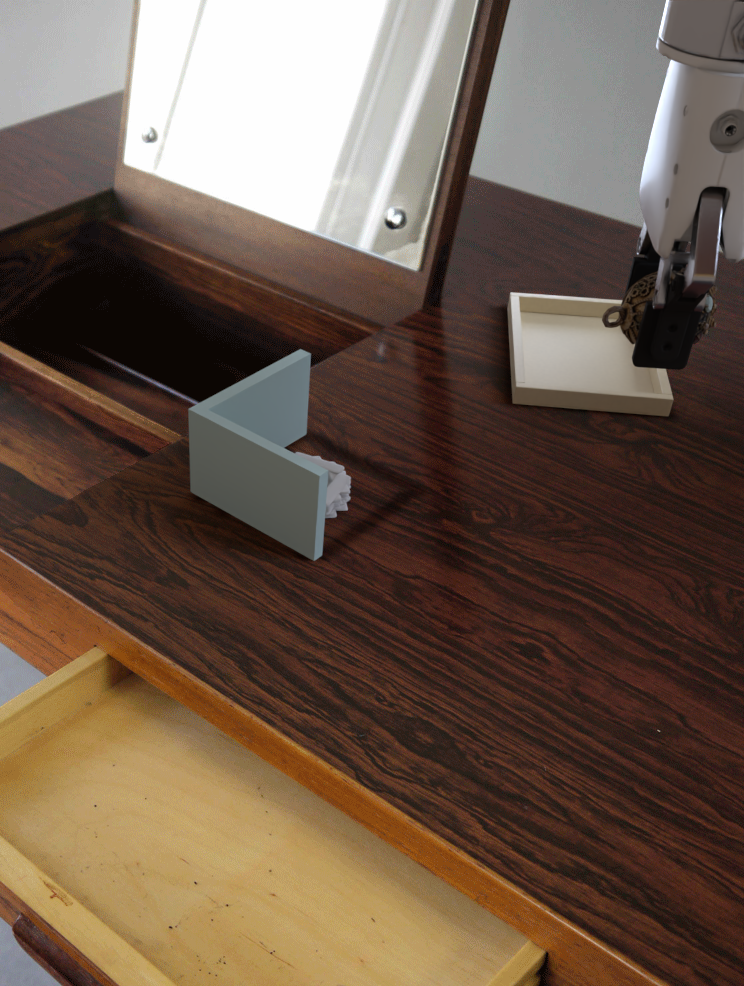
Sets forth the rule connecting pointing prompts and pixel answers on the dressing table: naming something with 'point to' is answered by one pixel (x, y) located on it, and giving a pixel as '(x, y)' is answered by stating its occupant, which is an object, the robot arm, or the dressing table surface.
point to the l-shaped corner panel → (266, 457)
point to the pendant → (644, 292)
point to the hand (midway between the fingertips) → (651, 339)
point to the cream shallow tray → (578, 358)
